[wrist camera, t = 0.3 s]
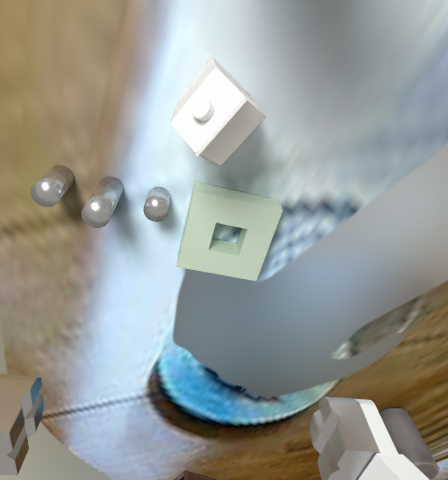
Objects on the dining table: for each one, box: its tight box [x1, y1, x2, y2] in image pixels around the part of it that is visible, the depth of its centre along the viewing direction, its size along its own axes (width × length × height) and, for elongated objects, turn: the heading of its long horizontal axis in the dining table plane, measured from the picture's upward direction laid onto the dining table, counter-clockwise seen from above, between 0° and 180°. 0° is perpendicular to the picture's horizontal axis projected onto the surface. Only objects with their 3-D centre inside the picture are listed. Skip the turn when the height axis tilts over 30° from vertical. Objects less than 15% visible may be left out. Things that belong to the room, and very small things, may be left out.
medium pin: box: [31, 166, 74, 207], centre depth 52 cm, size 4×4×7 cm
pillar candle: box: [379, 408, 439, 480], centre depth 86 cm, size 10×10×15 cm
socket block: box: [177, 182, 283, 281], centre depth 59 cm, size 14×14×4 cm
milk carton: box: [171, 57, 266, 166], centre depth 42 cm, size 7×7×19 cm
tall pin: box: [81, 177, 124, 228], centre depth 52 cm, size 4×4×10 cm
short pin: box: [144, 187, 171, 222], centre depth 55 cm, size 4×4×5 cm
